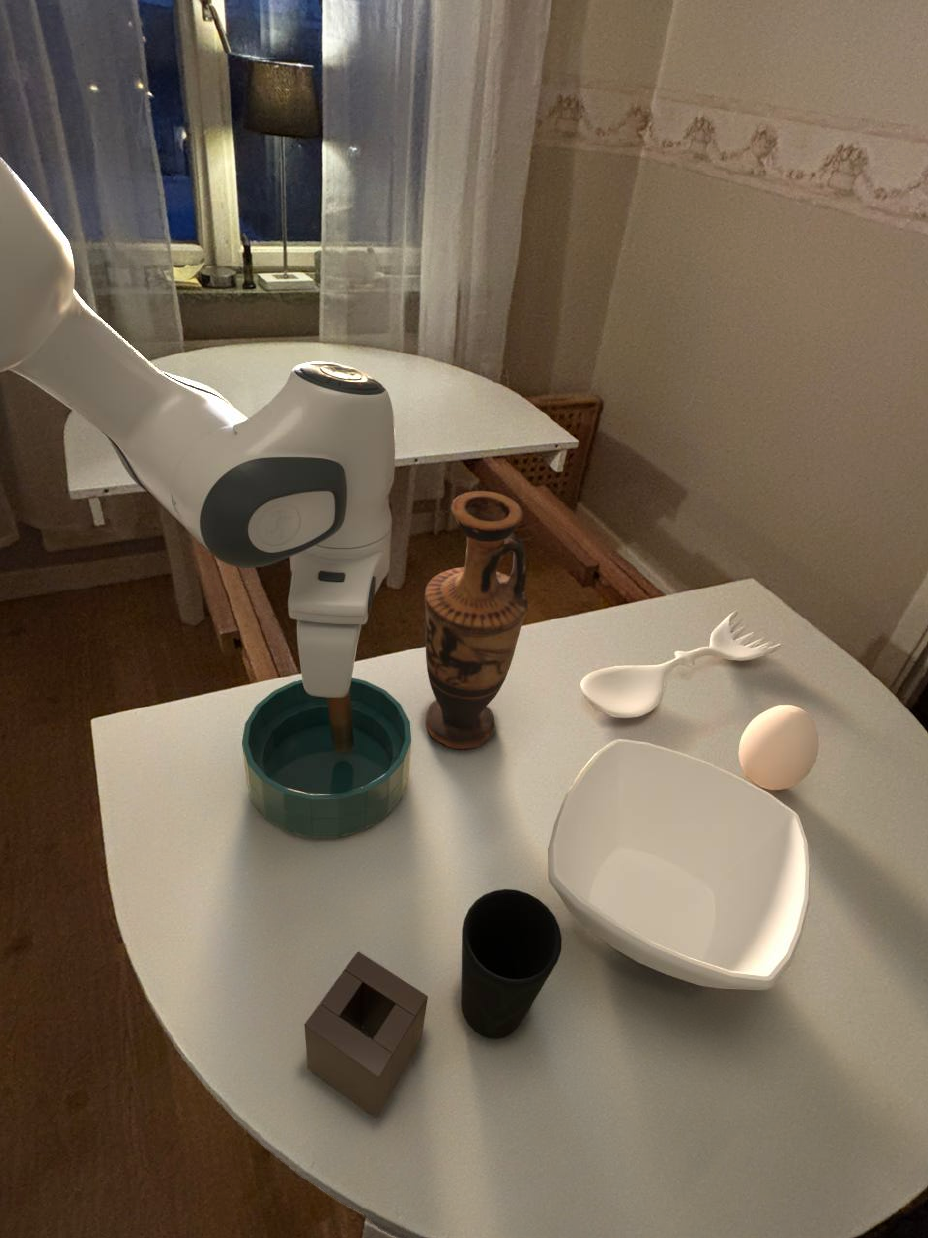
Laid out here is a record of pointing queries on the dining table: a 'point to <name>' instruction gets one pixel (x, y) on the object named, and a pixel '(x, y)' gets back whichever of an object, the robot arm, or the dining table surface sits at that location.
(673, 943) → the bowl
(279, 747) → the mixing bowl
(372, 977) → the holder
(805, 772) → the egg
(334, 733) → the stick
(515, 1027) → the cup
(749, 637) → the spoon
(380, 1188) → the dining table surface
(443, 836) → the dining table surface
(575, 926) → the dining table surface
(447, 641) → the vase
